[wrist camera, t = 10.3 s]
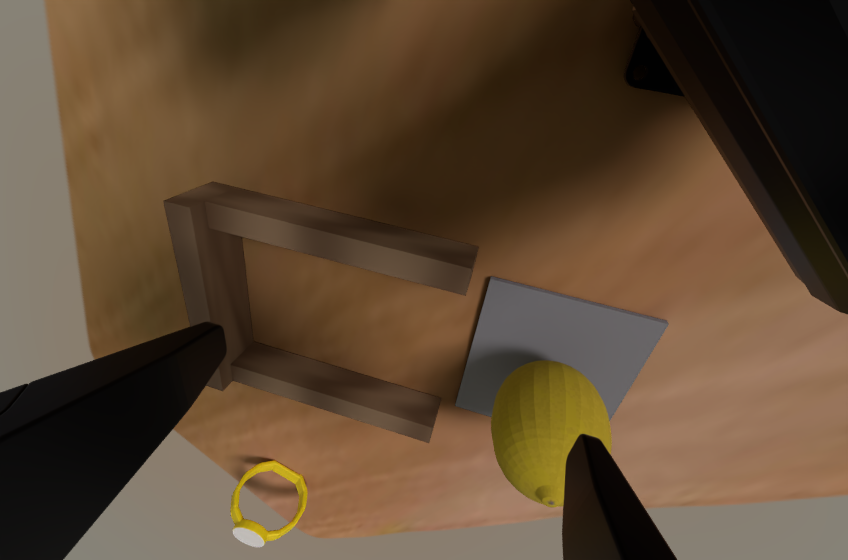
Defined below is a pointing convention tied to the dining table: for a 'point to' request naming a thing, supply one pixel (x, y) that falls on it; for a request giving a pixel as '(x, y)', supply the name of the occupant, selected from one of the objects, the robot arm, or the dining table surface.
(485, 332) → the mat
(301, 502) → the watch
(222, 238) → the shelf lane
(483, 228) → the dining table surface
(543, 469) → the lemon
